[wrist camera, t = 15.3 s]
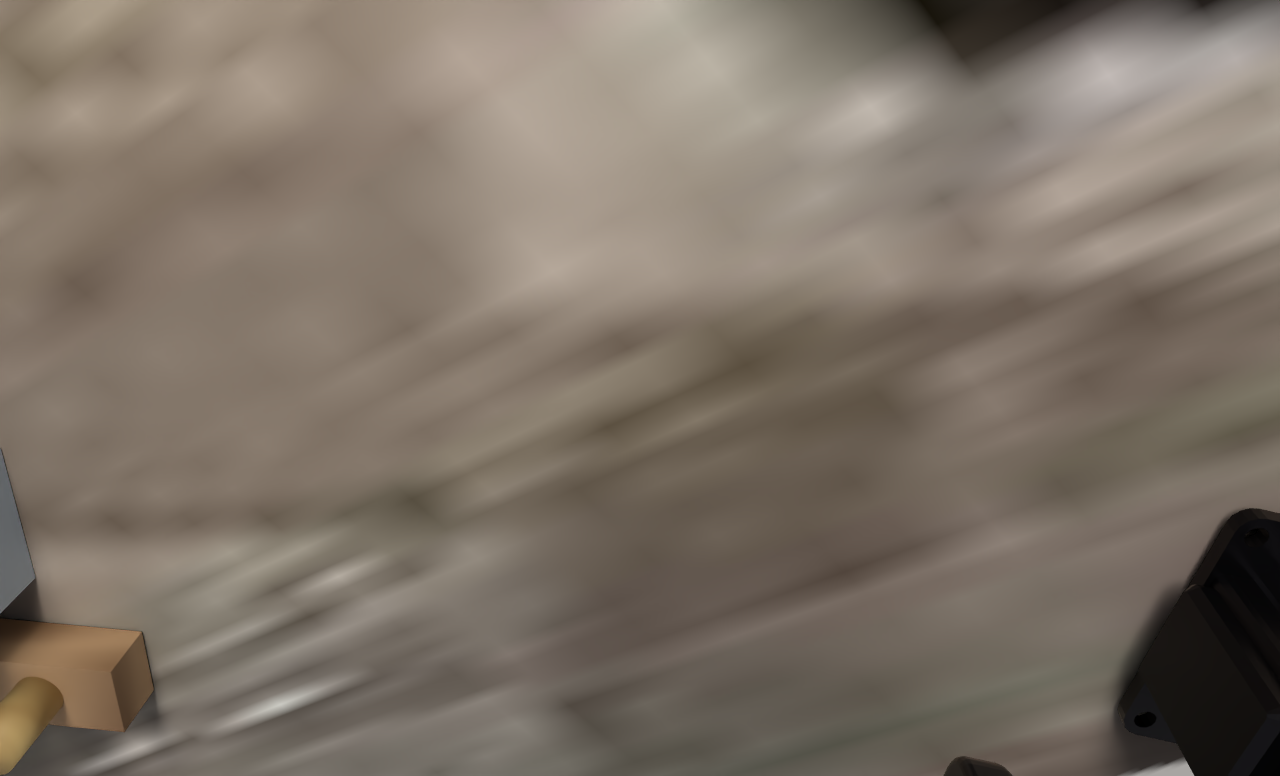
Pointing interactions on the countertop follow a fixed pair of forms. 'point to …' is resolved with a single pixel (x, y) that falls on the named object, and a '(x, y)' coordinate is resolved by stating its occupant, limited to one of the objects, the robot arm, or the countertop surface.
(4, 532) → the grey block
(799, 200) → the countertop surface
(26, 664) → the wooden knob panel
